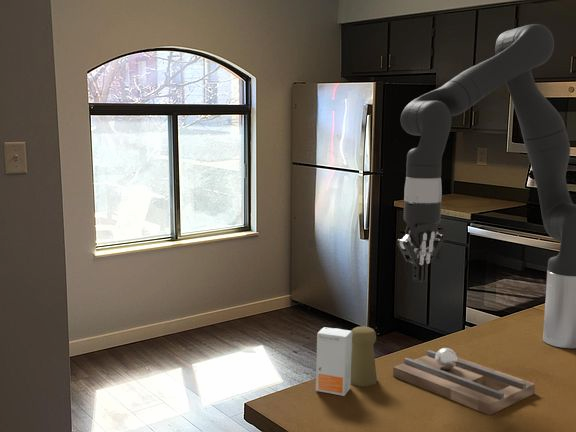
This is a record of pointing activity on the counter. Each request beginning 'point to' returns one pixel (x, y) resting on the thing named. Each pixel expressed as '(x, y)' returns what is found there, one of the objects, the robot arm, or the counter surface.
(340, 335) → the skincare box
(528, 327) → the counter surface
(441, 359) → the steel ball
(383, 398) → the counter surface
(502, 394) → the walnut channel
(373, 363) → the olive knob stopper
